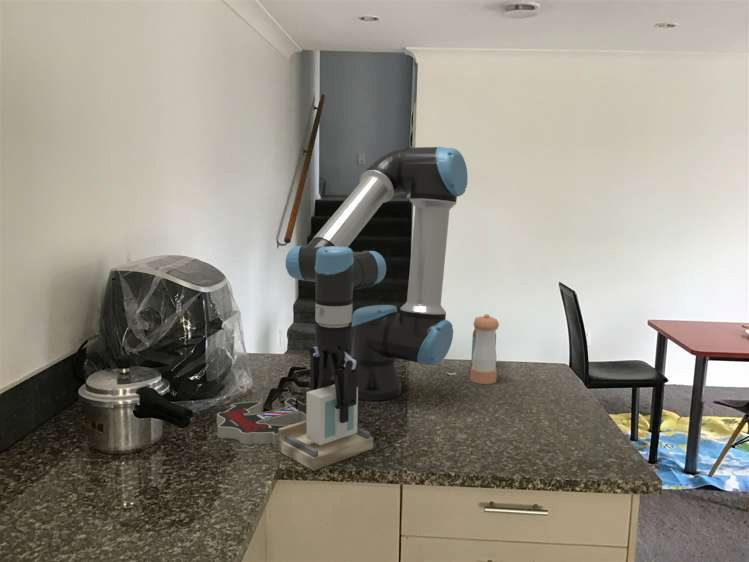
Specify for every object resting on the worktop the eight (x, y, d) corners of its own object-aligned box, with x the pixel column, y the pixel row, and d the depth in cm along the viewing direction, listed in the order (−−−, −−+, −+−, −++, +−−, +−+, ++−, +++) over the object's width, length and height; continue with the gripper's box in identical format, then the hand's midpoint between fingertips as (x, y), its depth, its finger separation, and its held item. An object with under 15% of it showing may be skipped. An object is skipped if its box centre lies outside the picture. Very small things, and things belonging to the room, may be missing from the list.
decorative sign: (197, 411, 155) (308, 388, 172) (198, 422, 155) (308, 398, 173) (239, 443, 137) (358, 414, 155) (240, 456, 138) (358, 426, 155)
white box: (306, 438, 137) (306, 392, 135) (343, 426, 144) (344, 381, 142) (320, 445, 134) (320, 398, 132) (357, 432, 140) (358, 387, 139)
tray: (278, 451, 140) (278, 428, 139) (336, 431, 151) (337, 410, 150) (313, 470, 131) (313, 446, 130) (373, 448, 142) (373, 426, 141)
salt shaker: (470, 375, 194) (473, 311, 191) (495, 377, 193) (499, 312, 190) (470, 383, 187) (473, 316, 183) (496, 385, 186) (500, 318, 182)
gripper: (292, 318, 138) (292, 424, 142) (348, 334, 126) (346, 450, 130) (321, 313, 144) (320, 415, 148) (376, 328, 131) (374, 440, 135)
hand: (332, 432), depth 139 cm, fingers closed on white box, 5 cm apart
